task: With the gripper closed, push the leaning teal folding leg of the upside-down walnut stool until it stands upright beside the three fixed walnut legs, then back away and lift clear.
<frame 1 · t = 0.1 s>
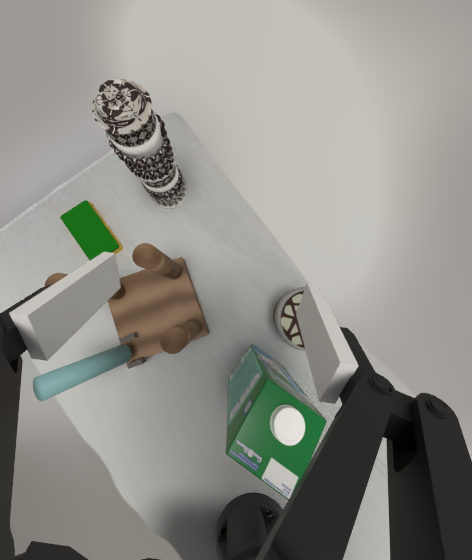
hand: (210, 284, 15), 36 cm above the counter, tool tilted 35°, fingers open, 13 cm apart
dish sponge: (96, 234, 53), on the counter
milk carton: (256, 372, 50), on the counter
food container: (281, 315, 51), on the counter
walnut stool: (159, 308, 50), on the counter
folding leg: (89, 368, 38), point 11 cm above the counter, hinge at 30.0°
decorative candle: (169, 192, 54), on the counter
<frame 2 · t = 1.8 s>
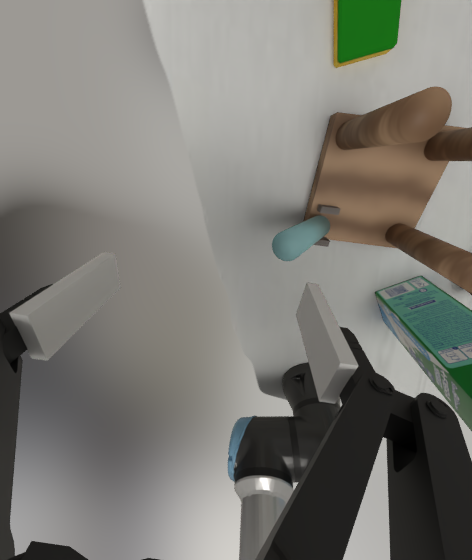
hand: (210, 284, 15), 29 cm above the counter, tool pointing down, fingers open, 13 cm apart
milk carton: (400, 299, 48), on the counter
walnut stool: (366, 187, 38), on the counter
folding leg: (305, 234, 31), point 11 cm above the counter, hinge at 30.0°
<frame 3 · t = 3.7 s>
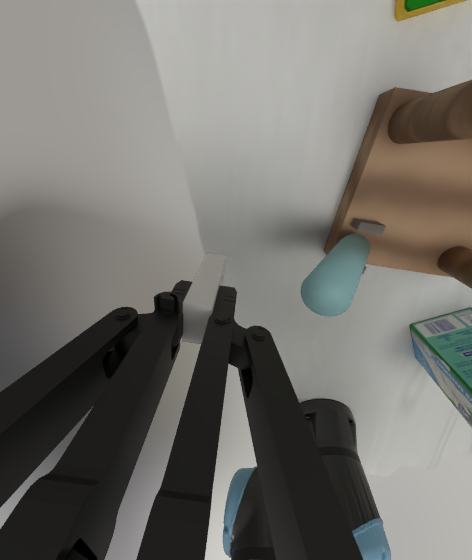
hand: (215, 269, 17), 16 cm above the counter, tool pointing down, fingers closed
milk carton: (440, 333, 39), on the counter
walnut stool: (416, 195, 28), on the counter
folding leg: (342, 266, 22), point 11 cm above the counter, hinge at 30.0°
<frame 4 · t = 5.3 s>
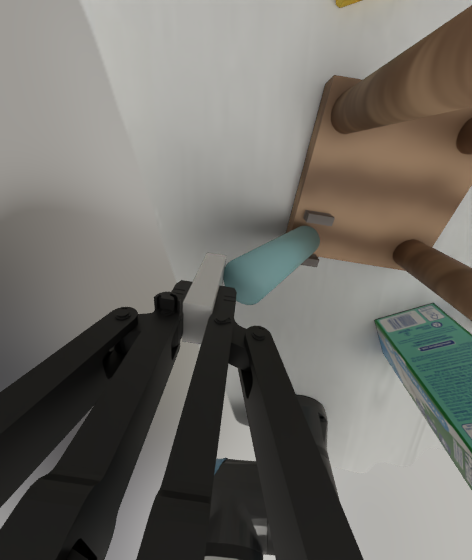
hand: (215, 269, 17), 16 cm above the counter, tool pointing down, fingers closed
milk carton: (405, 329, 39), on the counter
walnut stool: (370, 188, 28), on the counter
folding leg: (281, 256, 21), point 11 cm above the counter, hinge at 30.0°, touching gripper
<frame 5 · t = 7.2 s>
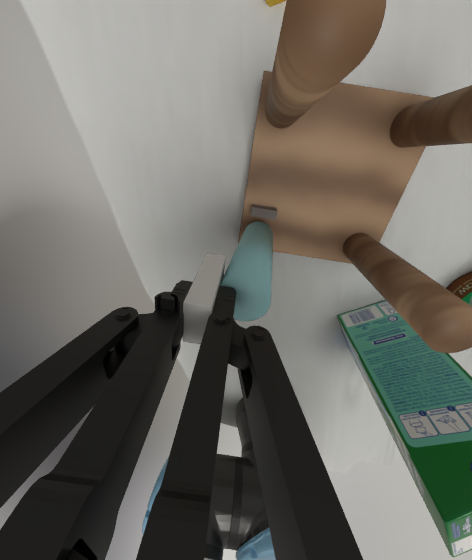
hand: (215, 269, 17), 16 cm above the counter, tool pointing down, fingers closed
milk carton: (369, 324, 39), on the counter
food container: (461, 285, 34), on the counter
walnut stool: (318, 182, 28), on the counter
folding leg: (252, 258, 21), point 12 cm above the counter, hinge at 4.8°, touching gripper
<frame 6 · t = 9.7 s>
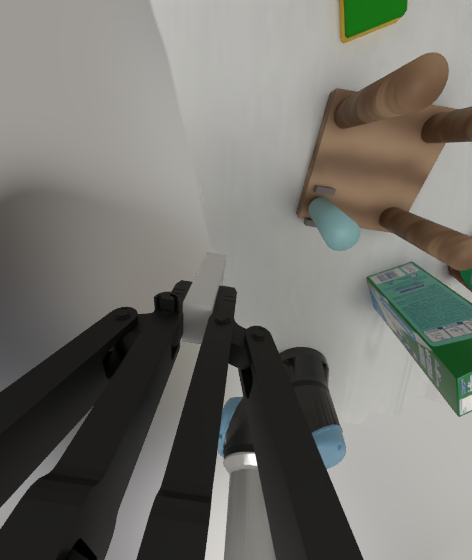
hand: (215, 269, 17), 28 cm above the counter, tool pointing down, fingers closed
milk carton: (391, 285, 49), on the counter
food container: (465, 251, 44), on the counter
walnut stool: (362, 169, 38), on the counter
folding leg: (328, 219, 30), point 12 cm above the counter, hinge at 4.8°
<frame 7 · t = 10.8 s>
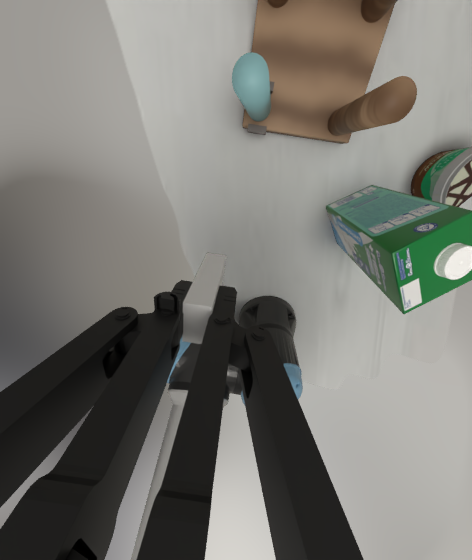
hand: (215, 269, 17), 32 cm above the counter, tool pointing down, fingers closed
milk carton: (353, 216, 46), on the counter
food container: (427, 170, 41), on the counter
walnut stool: (307, 68, 35), on the counter
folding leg: (255, 95, 27), point 12 cm above the counter, hinge at 4.8°
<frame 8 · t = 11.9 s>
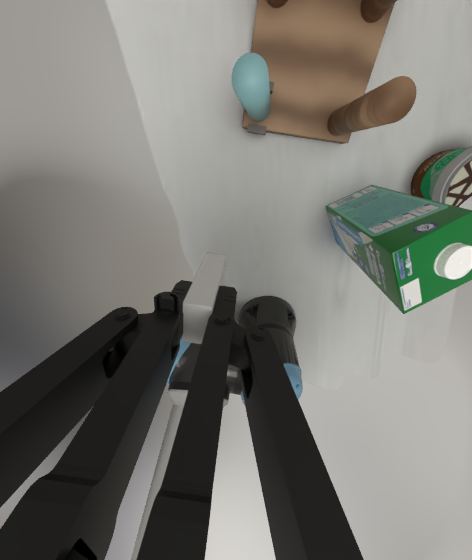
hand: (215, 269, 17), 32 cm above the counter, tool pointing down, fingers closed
milk carton: (353, 216, 46), on the counter
food container: (427, 170, 41), on the counter
walnut stool: (307, 68, 35), on the counter
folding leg: (255, 95, 27), point 12 cm above the counter, hinge at 4.8°
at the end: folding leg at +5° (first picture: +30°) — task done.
